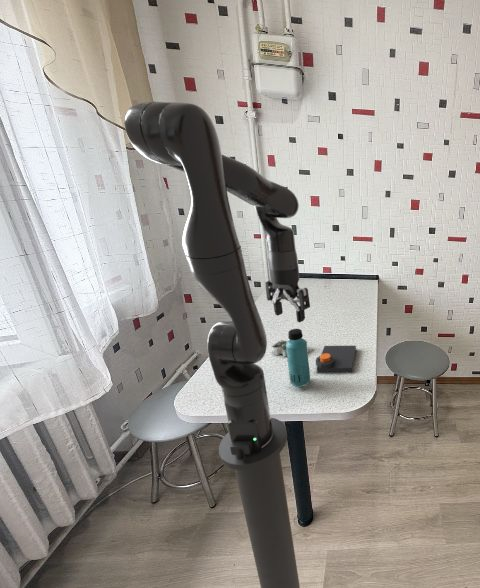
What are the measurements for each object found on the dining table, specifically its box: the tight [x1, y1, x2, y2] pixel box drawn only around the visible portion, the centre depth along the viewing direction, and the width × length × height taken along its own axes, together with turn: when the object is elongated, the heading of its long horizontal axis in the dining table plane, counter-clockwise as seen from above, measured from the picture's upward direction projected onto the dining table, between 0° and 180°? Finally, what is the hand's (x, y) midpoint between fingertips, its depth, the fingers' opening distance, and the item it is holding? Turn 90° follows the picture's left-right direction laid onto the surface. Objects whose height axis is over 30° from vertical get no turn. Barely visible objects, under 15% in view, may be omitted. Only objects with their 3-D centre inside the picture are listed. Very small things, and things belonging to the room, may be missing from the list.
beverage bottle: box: [286, 328, 311, 387], centre depth 104 cm, size 6×7×20 cm
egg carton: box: [271, 339, 289, 358], centre depth 125 cm, size 11×8×4 cm
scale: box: [315, 345, 357, 374], centre depth 121 cm, size 15×13×4 cm
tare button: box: [319, 353, 331, 363], centre depth 116 cm, size 4×4×2 cm
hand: (289, 317), depth 97 cm, fingers open, 8 cm apart
